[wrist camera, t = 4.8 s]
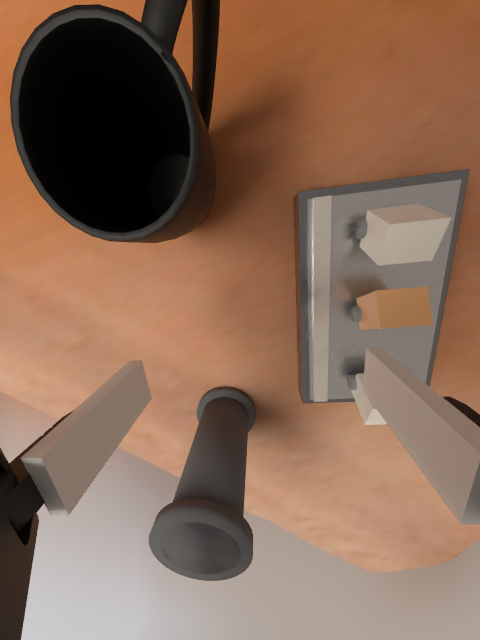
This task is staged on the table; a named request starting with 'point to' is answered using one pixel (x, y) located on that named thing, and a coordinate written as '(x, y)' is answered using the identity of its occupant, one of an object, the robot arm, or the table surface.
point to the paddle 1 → (364, 401)
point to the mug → (119, 119)
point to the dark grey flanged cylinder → (210, 495)
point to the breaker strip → (364, 280)
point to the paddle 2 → (401, 233)
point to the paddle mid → (393, 308)
